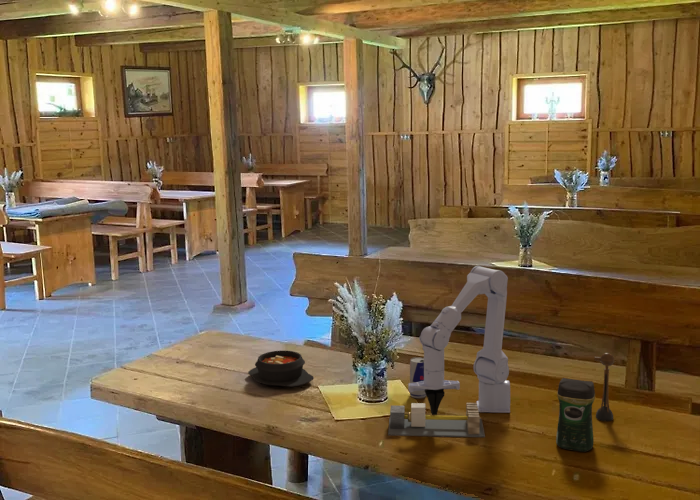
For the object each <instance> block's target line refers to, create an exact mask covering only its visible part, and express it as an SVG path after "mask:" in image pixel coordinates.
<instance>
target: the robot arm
mask: <svg viewBox="0 0 700 500" xmlns="http://www.w3.org/2000/svg"><path fill="white" fill-rule="evenodd" d="M508 281H509V277H508V276H507V274H506V273H505V272H504V271H503V270H500V269H492V268H489V267H483V266H481V265H475V266H474V267H472V269H471V270H470V272H469V273H468V274H467V275H466V283H465V284H464V286H463V287H462V289H461V291H459V294H458V295H457V296H456V297H455V300H453V303H452V304H451V305H449V306H445V307H443V308H442V310H441V312H440V313H439V314H438V316H437V317H436V318H435V319H434V321H433V322H432V323H431V324H430V326H426V327H424V328H423V329H422V331H421V333H420V336H419V338H418V340H419V342H420V344H421V345H422V351H423V358H424V381H421V382H416V383H410V382H408V384H407V385H408V387H407V388H408V392H409V393H410V392H413V391H425V393H426V398H427V400H428V404H429V408H430V413H431V415H438V411H439V406H440V404H441V402H442V400H443V398H444V397H445V393H446V392H445V390H460V389H461V386H460V385H461V384H460V381H459V380H449V379H448V380H447V379H445V348H446V347H447V346H448V345H449V341H450V338H451V336H452V335H451V334H452V332H453V331H454V330H455V328H456V327H457V326H458V324H459V323H460V322H461V320H462V313H463V311H464V310H465V309H466V308H467V307H468V306H469V305H470V304H471V303H472V301H474V299H475V298H476V297H477V296H478V295H485V296H486V297H487V306H486V316H485V327H484V336H483V347H482V348H481V349H480V350H479V351H477V352H476V358H475V360H474V363H473V366H472V367H473V372H474V374H475V375H476V377H477V379H478V400H476V402H475V403H477V407H478V412H479V413H506V414H507V413H508V414H509V413H511V382H510V380H507V379H508V377H509V373H510V369H509V368H510V366H509V363H508V362H509V357H508V356H507V355H506V353H505V352H504V351H503V350H502V348H503V338H504V329H505V328H504V327H505V317H506V310H507V309H506V308H507V297H508Z"/></svg>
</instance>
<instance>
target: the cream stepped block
mask: <svg viewBox="0 0 700 500" xmlns="http://www.w3.org/2000/svg"><path fill="white" fill-rule="evenodd" d="M410 408H411V410H410V412H411V427H425V415H426V403H422V402H421V403H420V402H419V403H418V402H416V403H415V402H411V407H410Z"/></svg>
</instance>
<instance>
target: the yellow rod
mask: <svg viewBox="0 0 700 500" xmlns="http://www.w3.org/2000/svg"><path fill="white" fill-rule="evenodd" d="M404 419H408V414H405V415H404ZM425 419H426V420H468V416H466V415H440V414H439V415H438V414H437V415H432V414H430V415H429V414H425Z"/></svg>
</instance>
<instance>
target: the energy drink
mask: <svg viewBox="0 0 700 500" xmlns="http://www.w3.org/2000/svg"><path fill="white" fill-rule="evenodd" d="M421 381H424V357H418V356H415V357H412V358H410V362H409V383H416V382H421ZM409 395H410V397H411V398H413V399H424V398H427V396H426V393H425V391H413V392H409Z"/></svg>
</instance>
